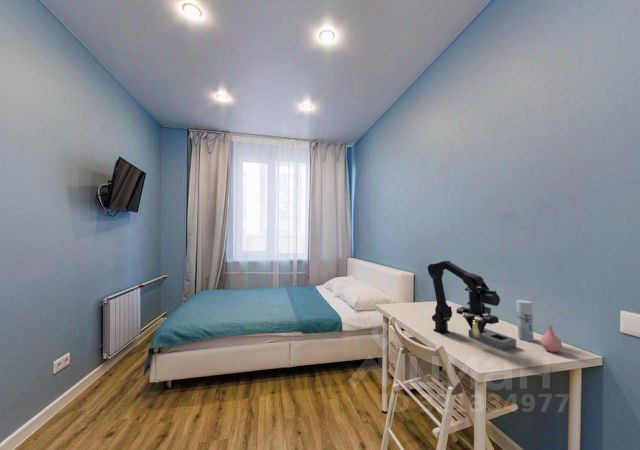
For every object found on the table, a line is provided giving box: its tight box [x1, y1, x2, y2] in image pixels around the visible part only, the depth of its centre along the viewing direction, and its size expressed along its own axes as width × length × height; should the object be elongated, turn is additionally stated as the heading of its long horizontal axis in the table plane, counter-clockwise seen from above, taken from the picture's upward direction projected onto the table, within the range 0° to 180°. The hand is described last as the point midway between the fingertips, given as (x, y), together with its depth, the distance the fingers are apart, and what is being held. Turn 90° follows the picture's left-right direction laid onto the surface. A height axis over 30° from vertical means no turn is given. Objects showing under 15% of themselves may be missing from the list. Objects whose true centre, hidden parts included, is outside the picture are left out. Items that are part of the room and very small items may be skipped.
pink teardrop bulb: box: [540, 324, 563, 353], centre depth 119 cm, size 8×8×12 cm
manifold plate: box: [468, 327, 517, 352], centre depth 130 cm, size 10×18×4 cm, turn 22°
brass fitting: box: [472, 318, 482, 338], centre depth 125 cm, size 4×4×8 cm
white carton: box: [516, 299, 534, 343], centre depth 133 cm, size 6×6×20 cm
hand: (477, 332), depth 125 cm, fingers closed on brass fitting, 4 cm apart
